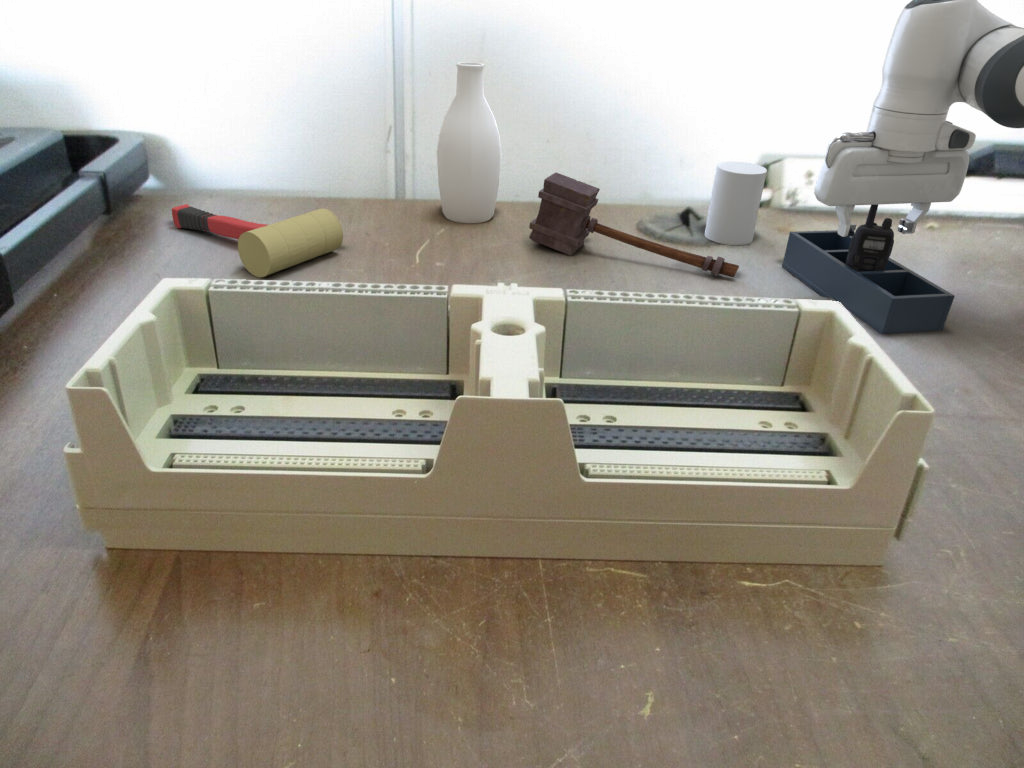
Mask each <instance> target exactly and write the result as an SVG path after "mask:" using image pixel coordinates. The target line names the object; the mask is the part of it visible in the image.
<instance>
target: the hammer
mask: <svg viewBox="0 0 1024 768" xmlns="http://www.w3.org/2000/svg"><path fill="white" fill-rule="evenodd" d="M600 190H601V189H600V187H597V186H593V185H591V184H589V183H586V182H584V181H581V180H577V179H575V178H572V177H570V176H567V175H564V174H562V173H559V172H554V173H552V174H550V175H549V176H547V177H546V178H544V180H543V188H542V189H540V190H539V191H538V193H537V194H538V195H537V196H538V197H537V198H539V199H541V200H540V204H539V208H538V213H537V216H536V217H535V218H534V219H532V220H531V221H530V222H529V225H528V229H530V230H531V232H530V235H529V237H528V239H530V240H531V241H533V242H535V243H538V244H541V245H543V246H545V247H547V248H550V249H553V250H555V251H558V252H560V253H563V254H565V255H567V256H569V257H570V256H572V255H573V254H575V253H576V252H577V251H578V250H579V249H580V248H581V247H582V246H584V245H585V239H587V238H588V237H589V235H590V234H594V233H597V234H600V235H602V236H605V237H608V238H610V239H613V240H615V241H618V242H620V243H624V244H627V245H629V246H632V247H635V248H638V249H640V250H644V251H647V252H649V253H653V254H656V255H658V256H662V257H665V258H667V259H671V260H674V261H676V262H680V263H682V264H686V265H689V266H693V267H695V268H699V269H701V270H702V271H704V272H708V271H709V272H710V274H711V275H713V276H714V277H715V278H718V276H719V274H720V275H723V276H727V277H731V278H735V276H736V275H737V272H738V270H739V268H740V265H738V264H734V263H731V262H727V261H725V258H724V257H722V256H720V255H719V256H717V258H716V259H714V257H713V256H711V255H707V256H702V255H699V254H697V253H696V254H695V253H691V252H688V251H685V250H681V249H677V248H674V247H671V246H667V245H664V244H661V243H658V242H654V241H651V240H648V239H645V238H641V237H639V236H635V235H634V234H633V235H632V234H630V233H626V232H623V231H621V230H617V229H616V228H613V227H609V226H606V225H604V224H601V223H598V222H599V219H597V218H595V217H591V211H592V209H593V208H594V207H596V206H597V205H598V203H599V198H597V197H598V194H599V192H600Z"/></svg>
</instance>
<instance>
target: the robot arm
mask: <svg viewBox="0 0 1024 768" xmlns="http://www.w3.org/2000/svg"><path fill="white" fill-rule="evenodd" d="M881 77H882V78H881V79H882V80H881V85H880V88H879V91H878V93H877V95H876V97H875V99H874V100H873V103H872V108H871V112H870V116H869V120H868V124H867V128H866V131H861V132H843V133H840V135H839V136H837V137H835V138H834V139H832V140H831V141H830V142H829V144H828V145H827V148H826V153H825V155H824V156H825V157H824V160H823V162H822V166H821V168H820V171H819V173H818V176H817V179H816V183H815V186H814V189H813V191H814V192H813V193H814V196H815V199H816V200H817V201H818V202H820V203H822V204H823V205H826V206H827V207H835V208H834V210H835V212H836V216H837V219H838V221H839V223H838V228H837V230H838V234H839V235H840V236H842V237H847V236H853V235H854V233H855V231H856V230H857V224H856V223H854V222H852V221H851V220H852V219H851V215H850V214H854V211H855V207H856V206H871V205H878V206H880V205H902V204H903V205H904V204H910V206H911V207H912V208H911V209H910V210H909V212H908V214H907V215H906V216H905V217H903V218H899V222H898V226H897V232H899V233H901V234H902V235H910V234H915V232H916V229H917V225H918V223H920V221H921V220H922V219H923V217H924V216H925V215H926V214H927V213H928V212H929V211H930V208H931V205H932V203H933V204H934V203H950V202H953V201H954V200H955V199H956V198H958V196H959V195H960V194H961V191H962V189H963V186H964V183H965V179H966V177H967V174H968V173H967V172H968V168H969V165H970V154H969V152H968V151H967V150H970V149H972V147H974V144H975V141H976V138H977V135H976V133H975V132H973V131H971V130H968V129H966V128H963V127H961V126H958V125H956V124H954V123H953V122H951V121H948V120H947V117H948V113H949V111H950V107H951V106H952V105H953V104H955V103H965V104H967V105H969V106H970V108H971V107H972V109H973V108H974V109H975V110H978V111H980V112H981V113H983V114H985V115H986V116H987V117H988V118H989V119H991V120H992V121H993V122H995V123H997V124H998V125H1000V126H1002V127H1005V128H1008V129H1009V128H1010V129H1024V27H1021V26H1017V25H1015V24H1013V23H1011V22H1009V21H1007V20H1006V19H1003V18H1001V17H999V16H998V15H997V14H994V13H993V12H992V11H990V10H989V9H988V8H986V7H985V6H984V5H982V3H980V2H979V1H978V0H911V1H910V2H908V3H907V4H906V5H905V6H904V7H903V8H902V10H901V12H900V14H899V16H898V17H897V21H896V23H895V25H894V28H893V31H892V34H891V37H890V41H889V43H888V47H887V50H886V54H885V57H884V59H883V64H882V68H881Z"/></svg>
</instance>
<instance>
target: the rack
mask: <svg viewBox="0 0 1024 768" xmlns="http://www.w3.org/2000/svg"><path fill="white" fill-rule="evenodd" d="M851 240H852V236H847V237H842V236H840V235H839V234H838V229H836V230H835V229H833V230H832V229H831V230H801V231H799V230H797V231H789V234H788V237H787V242H786V243H787V244H786V246H785V247H786V248H785V251H784V256H783V260H782V265H781V267H782V268H783V269H784V270H785V271H787V272H788V273H790V274H791V275H792V276H794V277H795V278H797V279H798V280H799V281H801V282H802V283H803V284H804V285H805V286H807V287H808V288H810V289H811V290H813V291H814V292H815V293H817V294H818V295H819V296H821V297H822V298H831V299H832V300H834V301H835V302H837V301H839V302H841V303H842V304H843V305H844V306H845V307H846V308H845V307H844V306H843V307H844V308H845V309H846V310H847V311H850V312H851V313H852V314H853V315H855V316H856V317H857V318H859V319H860V320H862V321H863V322H864V323H866V324H867V325H868V326H870V327H871V328H873V330H875V331H877V332H878V333H879V334H881V335H889V334H890V335H891V334H907V333H922V332H923V333H925V332H941V331H943V330H944V327H945V324H946V321H947V319H948V316H949V313H950V310H951V307H952V305H953V302H954V299H955V296H956V295H955V294H952V293H951V292H949V291H948V290H946V289H944V288H942V287H941V286H940V285H937V284H936V283H935V282H933V281H930V279H927V278H926V277H924V276H922V275H921V274H919V273H917V272H915V271H913V270H912V269H910V268H908V267H906V266H905V265H904V264H901V263H900V262H898V261H896V260H895V259H892V258H891V257H889V259H888V262H887V265H886V269H885V271H862V272H856V271H855V270H853V269H852V268H850V267H849V266H847V265H846V264H845V263H846V260H847V256H848V253H849V251H848V250H849V246H850V243H851Z"/></svg>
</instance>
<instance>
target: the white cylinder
mask: <svg viewBox="0 0 1024 768" xmlns="http://www.w3.org/2000/svg"><path fill="white" fill-rule="evenodd" d="M767 173H768V169H767V168H766V167H764V166H762V165H759V164H757V163H751V162H744V161H721V162H718V163H717V164H716V166H715V172H714V177H713V184H712V189H711V190H712V191H711V195H710V201H709V207H708V212H707V218H706V224H705V230H704V237H705V238H706V239H707V240H709V241H712V242H713V243H718V244H722V245H726V246H746V245H749V244H751V243H752V242H753V240H754V235H755V231H756V224H757V221H758V216H759V211H760V205H761V201H762V196H763V193H764V187H765V182H766V177H767Z"/></svg>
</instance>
